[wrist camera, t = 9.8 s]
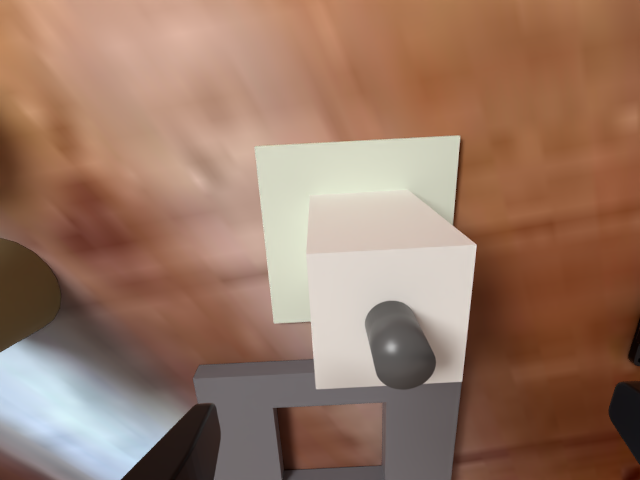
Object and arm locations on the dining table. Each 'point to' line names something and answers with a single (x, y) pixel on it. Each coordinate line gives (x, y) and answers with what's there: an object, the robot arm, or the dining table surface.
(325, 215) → the plug
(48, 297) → the olive green tapered block
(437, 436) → the gray rectangular frame
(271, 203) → the mat
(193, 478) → the robot arm
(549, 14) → the dining table surface
